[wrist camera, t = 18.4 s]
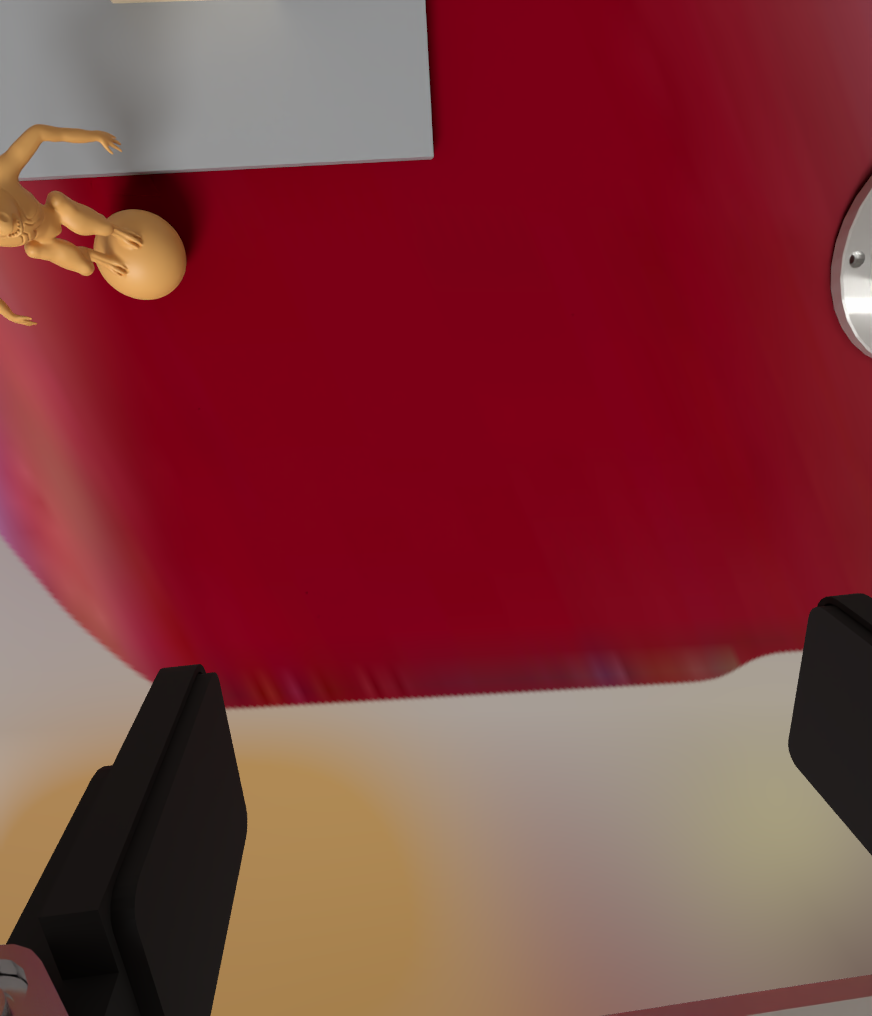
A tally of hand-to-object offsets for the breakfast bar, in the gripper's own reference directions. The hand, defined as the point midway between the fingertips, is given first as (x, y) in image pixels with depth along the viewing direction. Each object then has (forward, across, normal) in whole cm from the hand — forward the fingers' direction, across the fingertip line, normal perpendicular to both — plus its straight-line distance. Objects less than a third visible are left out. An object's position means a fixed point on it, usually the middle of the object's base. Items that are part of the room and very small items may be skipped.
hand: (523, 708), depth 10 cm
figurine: (+28, +13, -8) cm, 32 cm away
